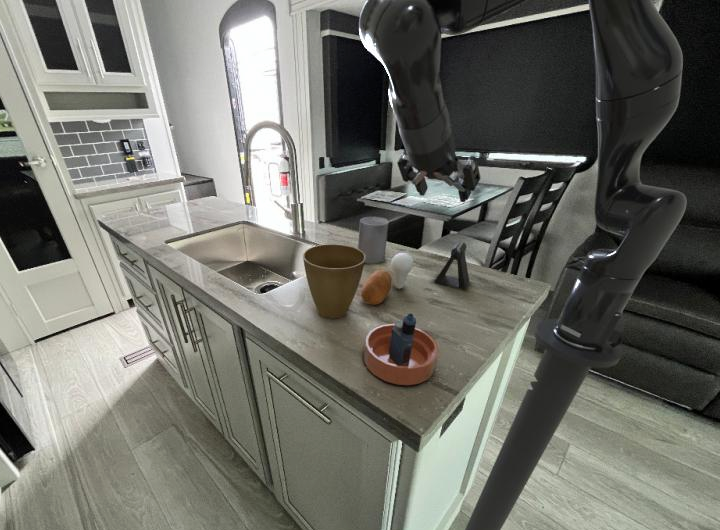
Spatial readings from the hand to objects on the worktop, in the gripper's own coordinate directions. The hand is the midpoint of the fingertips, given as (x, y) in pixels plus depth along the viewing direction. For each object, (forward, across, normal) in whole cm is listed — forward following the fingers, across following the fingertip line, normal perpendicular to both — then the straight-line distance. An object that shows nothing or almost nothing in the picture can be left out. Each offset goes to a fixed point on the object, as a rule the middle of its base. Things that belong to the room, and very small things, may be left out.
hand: (443, 195), depth 65 cm
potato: (+24, +15, +20) cm, 34 cm away
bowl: (+9, -4, +34) cm, 35 cm away
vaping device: (+9, -4, +34) cm, 35 cm away
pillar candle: (+39, +32, +4) cm, 51 cm away
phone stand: (+40, +3, +4) cm, 40 cm away
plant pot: (+14, +19, +30) cm, 38 cm away
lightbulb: (+30, +13, +14) cm, 35 cm away
